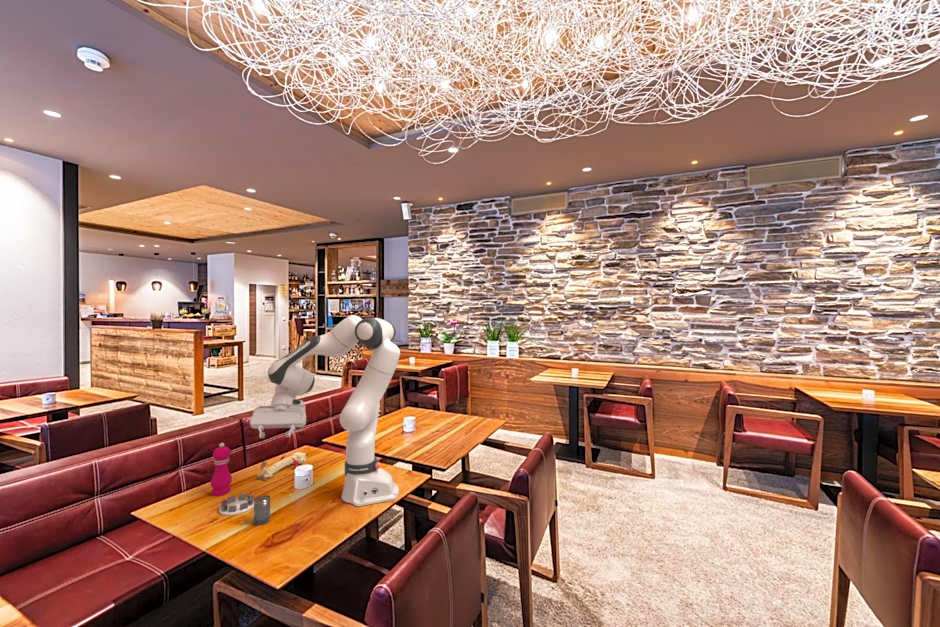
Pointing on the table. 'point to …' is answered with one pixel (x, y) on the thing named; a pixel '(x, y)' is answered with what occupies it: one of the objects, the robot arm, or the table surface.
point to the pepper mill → (221, 471)
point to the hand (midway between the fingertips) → (274, 437)
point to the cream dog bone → (281, 465)
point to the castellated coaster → (236, 505)
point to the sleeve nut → (261, 510)
